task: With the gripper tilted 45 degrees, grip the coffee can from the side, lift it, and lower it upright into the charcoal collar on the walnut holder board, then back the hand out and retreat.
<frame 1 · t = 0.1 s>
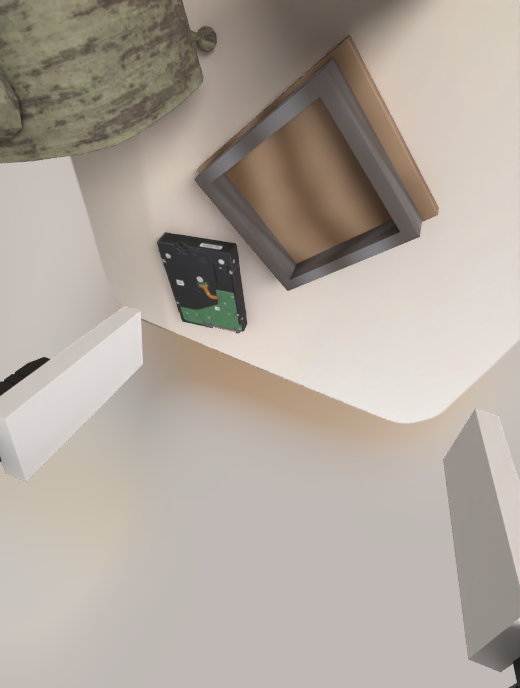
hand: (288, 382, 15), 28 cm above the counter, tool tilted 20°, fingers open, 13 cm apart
disk drive: (211, 279, 54), on the counter
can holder: (312, 184, 38), on the counter
tabletop clock: (145, 7, 32), on the counter
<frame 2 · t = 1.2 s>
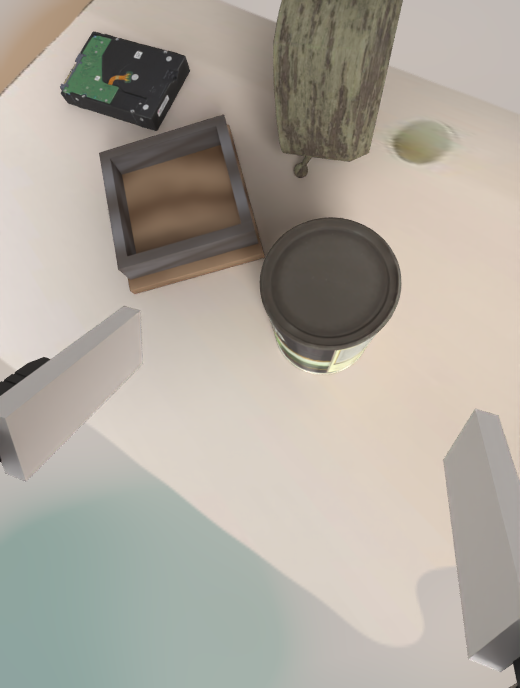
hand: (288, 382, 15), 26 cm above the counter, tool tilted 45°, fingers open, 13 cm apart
disk drive: (130, 91, 53), on the counter
coffee can: (322, 329, 42), on the counter
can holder: (184, 210, 47), on the counter
tabletop clock: (333, 141, 47), on the counter
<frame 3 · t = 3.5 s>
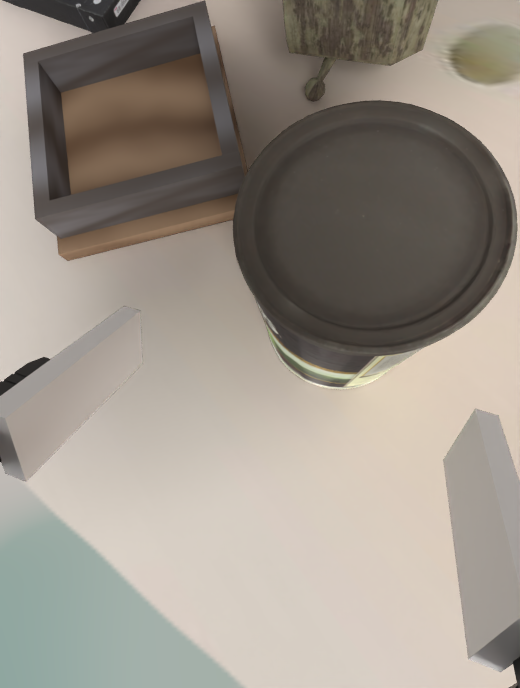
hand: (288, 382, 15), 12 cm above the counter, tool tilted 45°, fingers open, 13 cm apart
coffee can: (337, 320, 28), on the counter
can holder: (146, 144, 33), on the counter
tabletop clock: (362, 53, 33), on the counter
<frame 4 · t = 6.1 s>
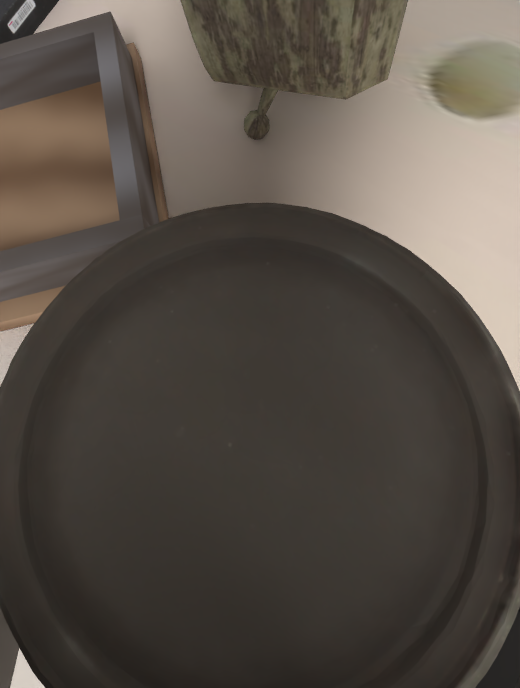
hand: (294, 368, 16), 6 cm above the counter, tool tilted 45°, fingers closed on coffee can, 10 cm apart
coffee can: (281, 438, 21), on the counter, touching gripper
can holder: (45, 193, 26), on the counter
tabletop clock: (319, 77, 26), on the counter
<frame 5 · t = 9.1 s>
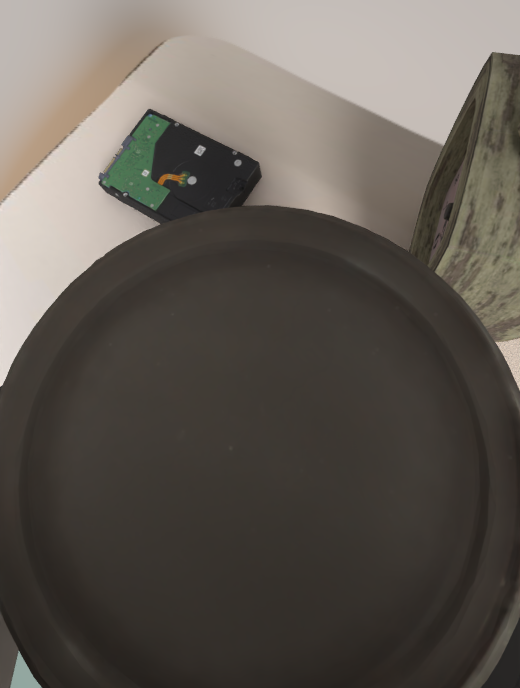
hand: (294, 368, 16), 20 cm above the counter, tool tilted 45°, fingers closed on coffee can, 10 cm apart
disk drive: (183, 187, 43), on the counter
coffee can: (281, 439, 21), point 14 cm above the counter, touching gripper
tabletop clock: (447, 282, 36), on the counter
when the fingers open (8 cm above the counter, at t = 12.2 s): coffee can drops 1 cm, resting on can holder.
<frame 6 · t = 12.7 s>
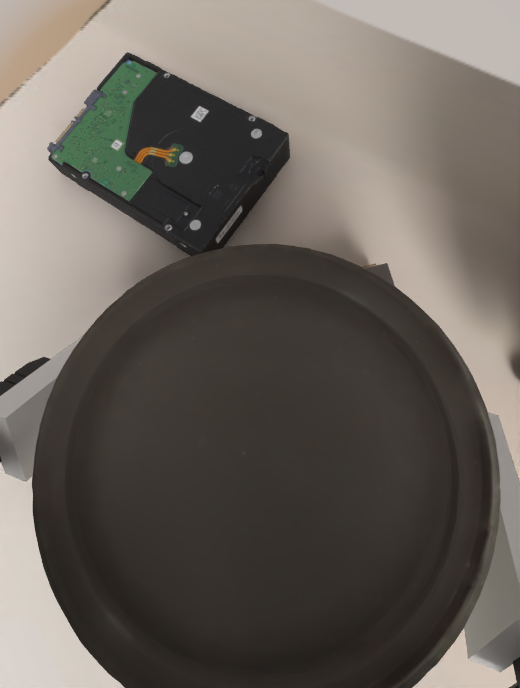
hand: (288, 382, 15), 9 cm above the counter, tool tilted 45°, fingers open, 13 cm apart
disk drive: (174, 170, 29), on the counter
coffee can: (283, 440, 22), point 1 cm above the counter, touching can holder
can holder: (283, 437, 23), on the counter
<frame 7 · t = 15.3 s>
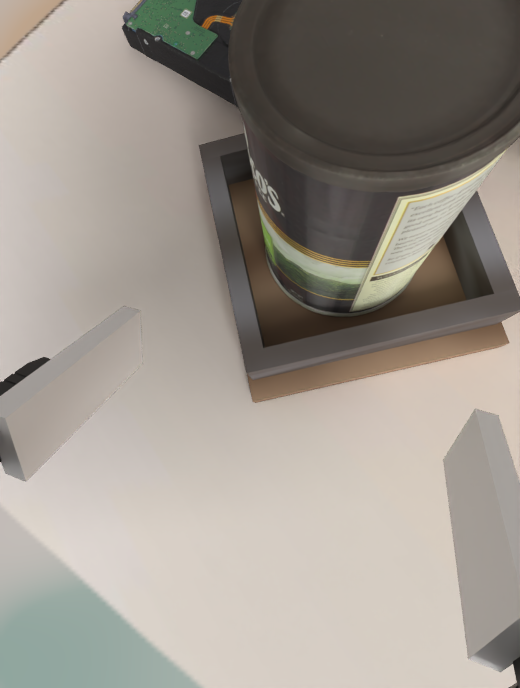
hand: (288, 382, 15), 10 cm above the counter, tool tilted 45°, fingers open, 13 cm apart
disk drive: (231, 46, 33), on the counter
coffee can: (341, 246, 26), point 1 cm above the counter, touching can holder
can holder: (338, 251, 27), on the counter
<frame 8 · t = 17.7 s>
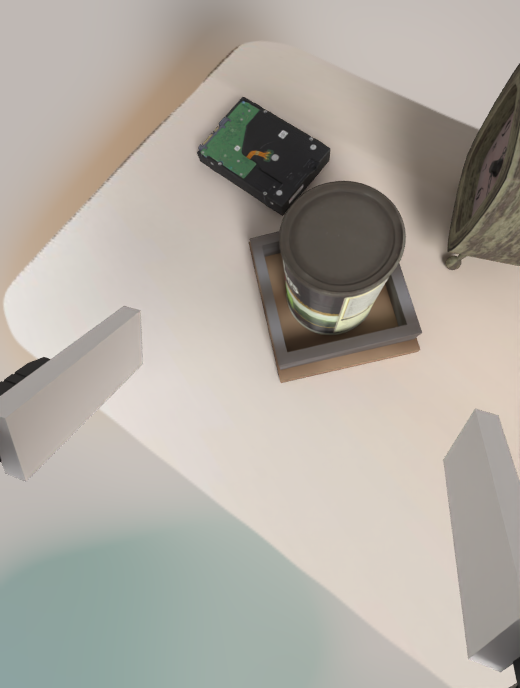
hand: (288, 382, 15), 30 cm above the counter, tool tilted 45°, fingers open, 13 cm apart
disk drive: (263, 163, 52), on the counter
coffee can: (330, 294, 45), point 1 cm above the counter, touching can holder
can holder: (328, 296, 46), on the counter
tabletop clock: (481, 231, 46), on the counter
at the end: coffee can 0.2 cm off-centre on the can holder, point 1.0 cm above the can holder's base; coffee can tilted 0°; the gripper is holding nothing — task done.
